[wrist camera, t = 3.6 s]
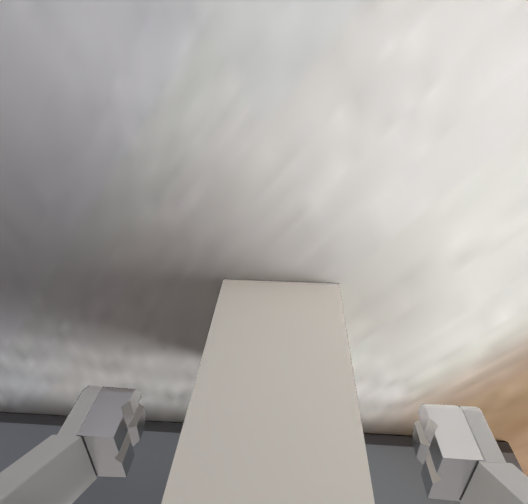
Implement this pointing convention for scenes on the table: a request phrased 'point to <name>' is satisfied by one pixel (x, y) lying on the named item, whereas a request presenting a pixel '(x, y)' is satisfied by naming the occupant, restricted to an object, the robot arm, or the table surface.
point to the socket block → (164, 447)
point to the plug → (273, 403)
